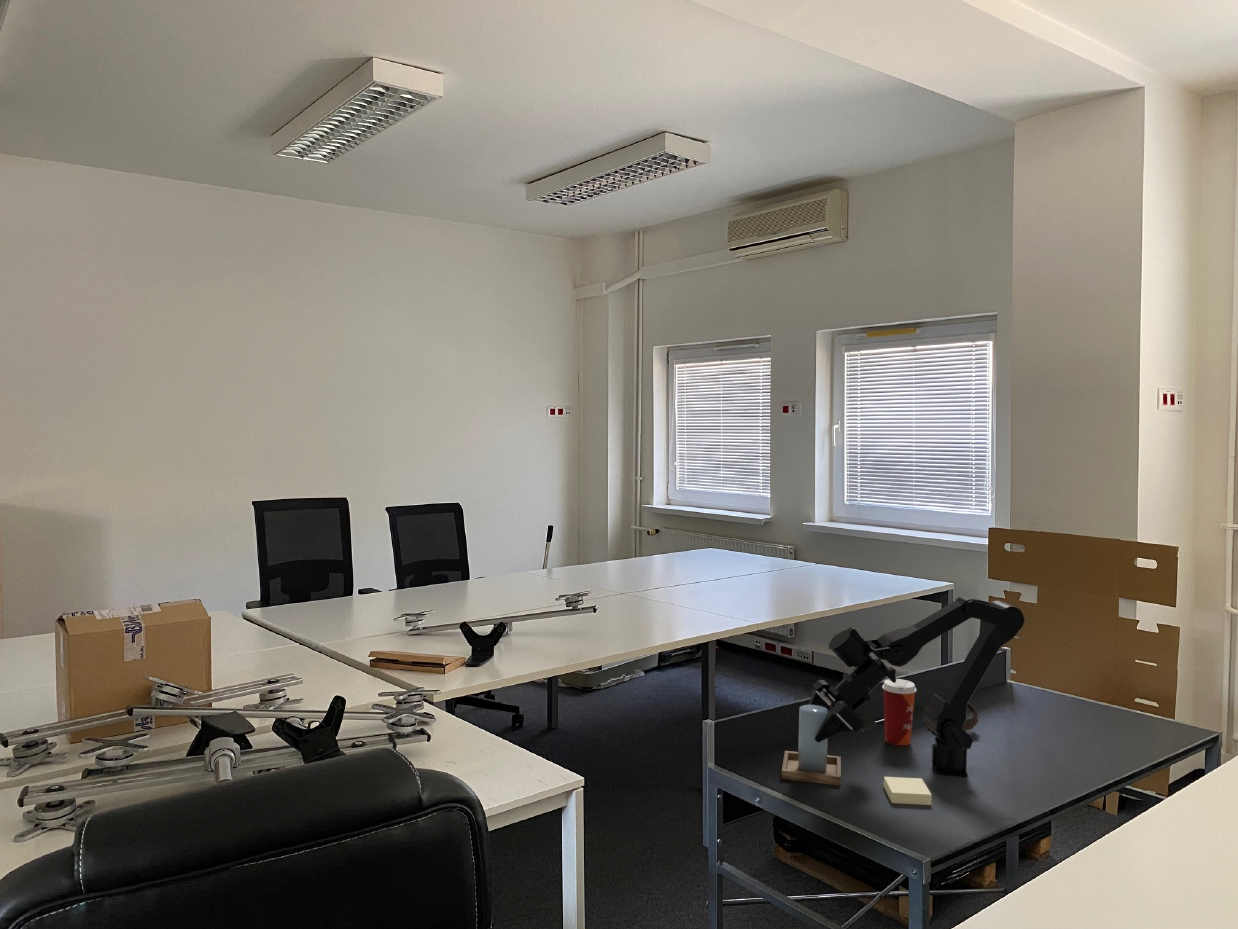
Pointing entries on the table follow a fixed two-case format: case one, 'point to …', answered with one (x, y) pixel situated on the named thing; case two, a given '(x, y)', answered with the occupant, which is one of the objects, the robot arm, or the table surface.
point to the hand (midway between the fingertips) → (809, 732)
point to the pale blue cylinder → (811, 739)
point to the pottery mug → (972, 721)
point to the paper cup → (898, 711)
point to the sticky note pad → (907, 790)
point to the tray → (794, 773)
